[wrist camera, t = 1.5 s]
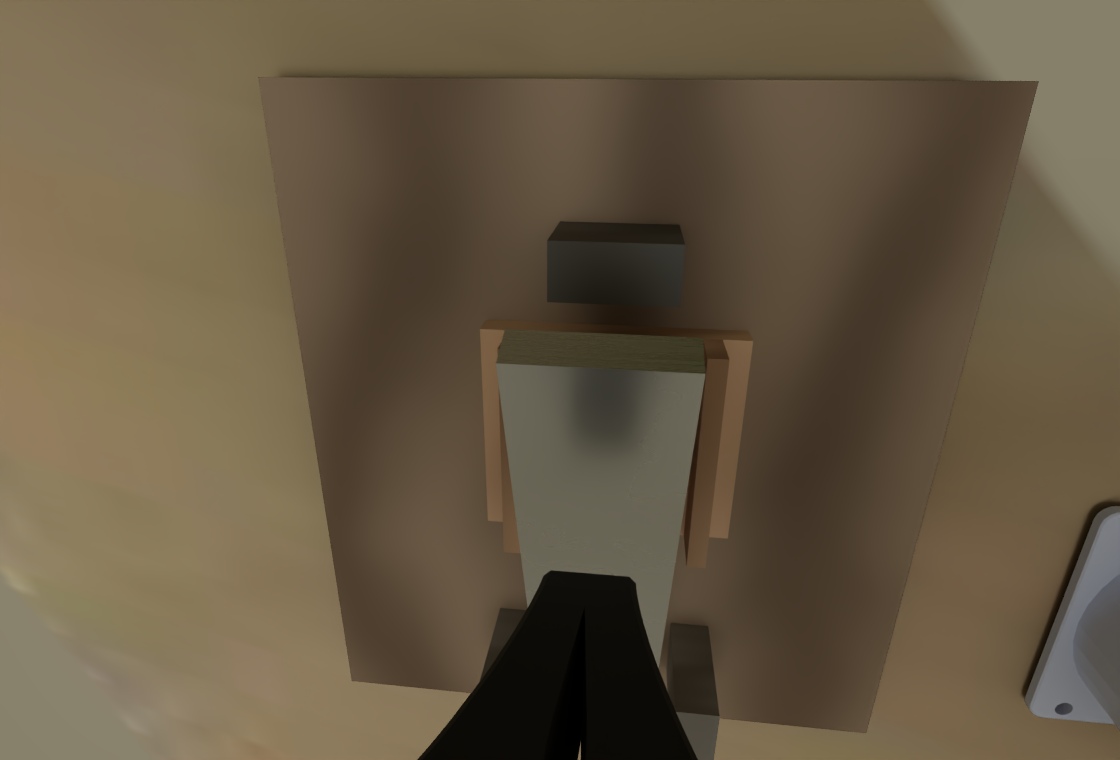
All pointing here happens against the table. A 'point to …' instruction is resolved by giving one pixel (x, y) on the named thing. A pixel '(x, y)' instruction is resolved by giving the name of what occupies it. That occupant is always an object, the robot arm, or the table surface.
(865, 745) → the table surface
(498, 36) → the table surface
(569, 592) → the robot arm
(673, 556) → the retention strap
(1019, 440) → the table surface
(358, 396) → the strap board
